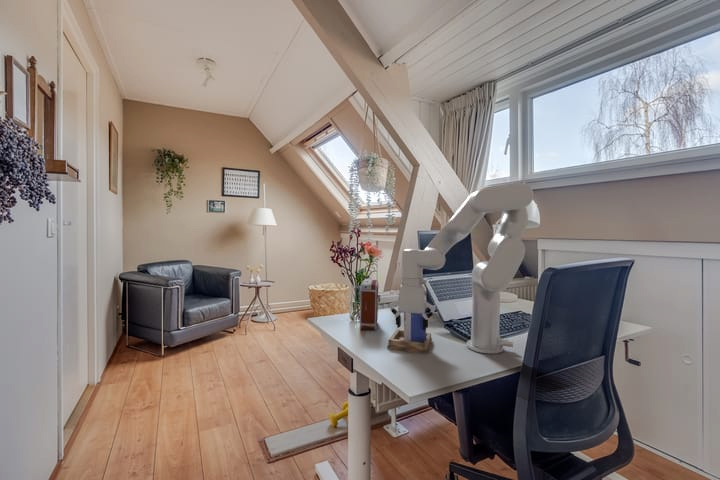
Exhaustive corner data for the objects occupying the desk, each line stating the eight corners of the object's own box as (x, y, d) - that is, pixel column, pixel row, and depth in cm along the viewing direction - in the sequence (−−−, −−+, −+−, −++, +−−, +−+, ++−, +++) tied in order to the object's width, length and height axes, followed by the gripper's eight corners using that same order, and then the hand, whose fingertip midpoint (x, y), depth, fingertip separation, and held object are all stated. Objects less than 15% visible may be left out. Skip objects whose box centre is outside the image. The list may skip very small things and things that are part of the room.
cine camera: (380, 318, 159) (381, 277, 158) (378, 331, 140) (379, 284, 139) (361, 318, 160) (361, 276, 159) (356, 330, 140) (357, 283, 140)
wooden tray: (431, 341, 129) (432, 332, 129) (426, 354, 116) (427, 344, 115) (396, 336, 133) (396, 328, 133) (387, 348, 120) (387, 339, 120)
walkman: (423, 340, 126) (423, 308, 126) (425, 342, 124) (426, 310, 123) (403, 340, 125) (403, 308, 125) (405, 343, 122) (405, 310, 122)
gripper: (437, 282, 124) (436, 327, 125) (391, 279, 130) (391, 323, 131) (434, 285, 117) (434, 333, 118) (386, 282, 123) (386, 328, 124)
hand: (411, 328), depth 124 cm, fingers open, 9 cm apart
